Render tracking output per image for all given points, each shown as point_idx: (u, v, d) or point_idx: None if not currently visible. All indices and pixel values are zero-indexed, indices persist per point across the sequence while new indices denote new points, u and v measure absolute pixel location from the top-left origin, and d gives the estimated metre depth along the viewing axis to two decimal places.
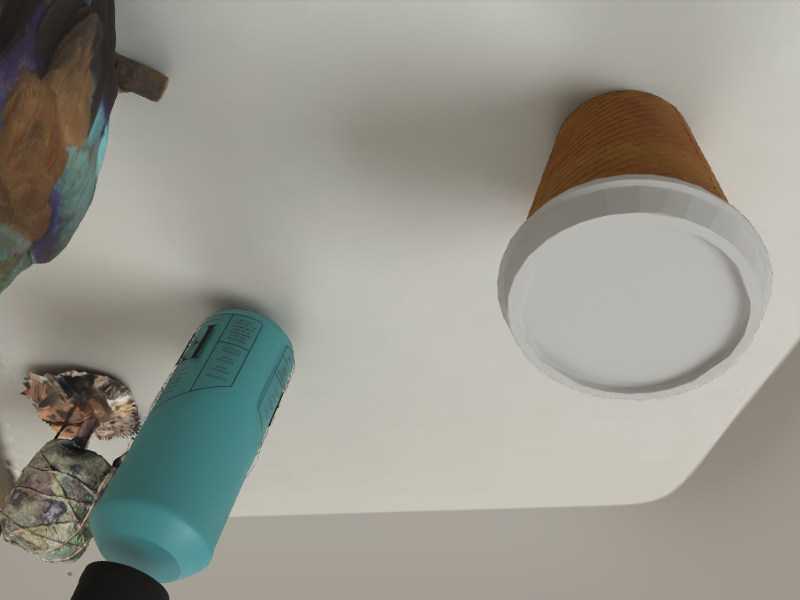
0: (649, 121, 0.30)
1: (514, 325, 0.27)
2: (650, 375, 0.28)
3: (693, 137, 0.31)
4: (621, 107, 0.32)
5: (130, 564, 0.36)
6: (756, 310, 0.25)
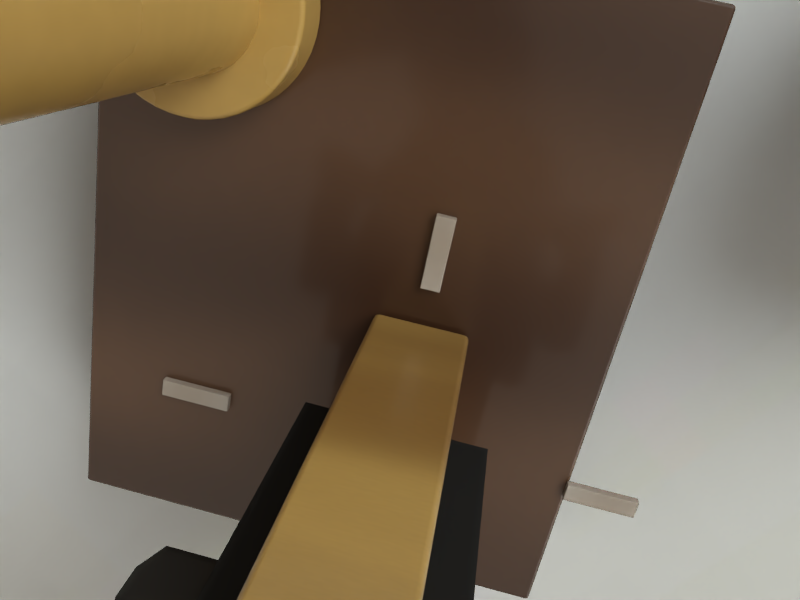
0: None
1: None
2: None
3: None
4: None
5: None
6: None
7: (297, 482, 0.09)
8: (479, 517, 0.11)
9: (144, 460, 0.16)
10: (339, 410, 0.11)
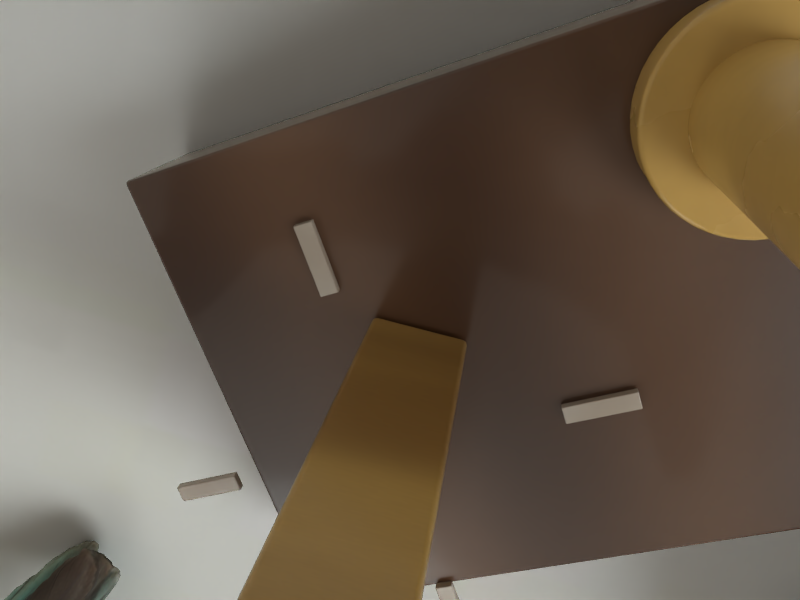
0: None
1: None
2: None
3: None
4: None
5: None
6: None
7: (295, 488, 0.09)
8: None
9: (198, 234, 0.14)
10: (338, 416, 0.10)
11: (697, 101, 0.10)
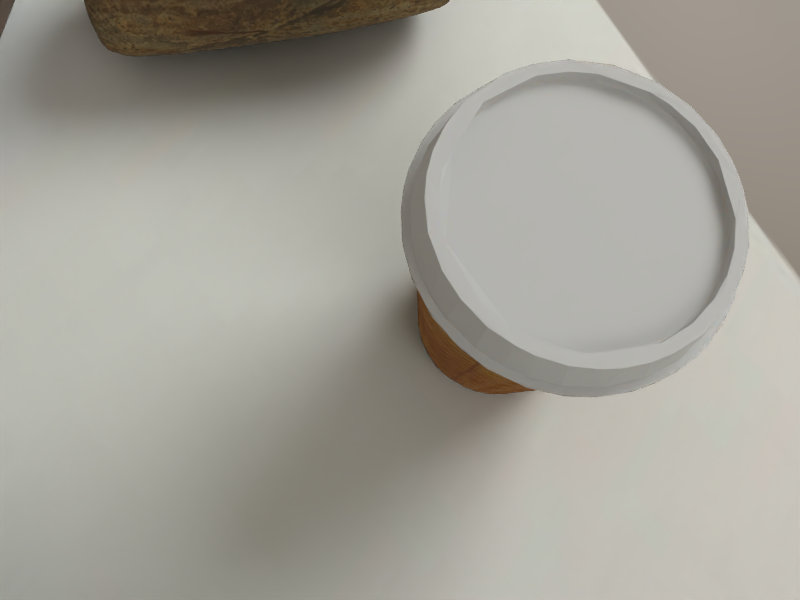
0: None
1: (509, 333, 0.18)
2: (702, 265, 0.19)
3: None
4: None
5: None
6: (667, 95, 0.20)
7: None
8: None
9: None
10: None
11: None
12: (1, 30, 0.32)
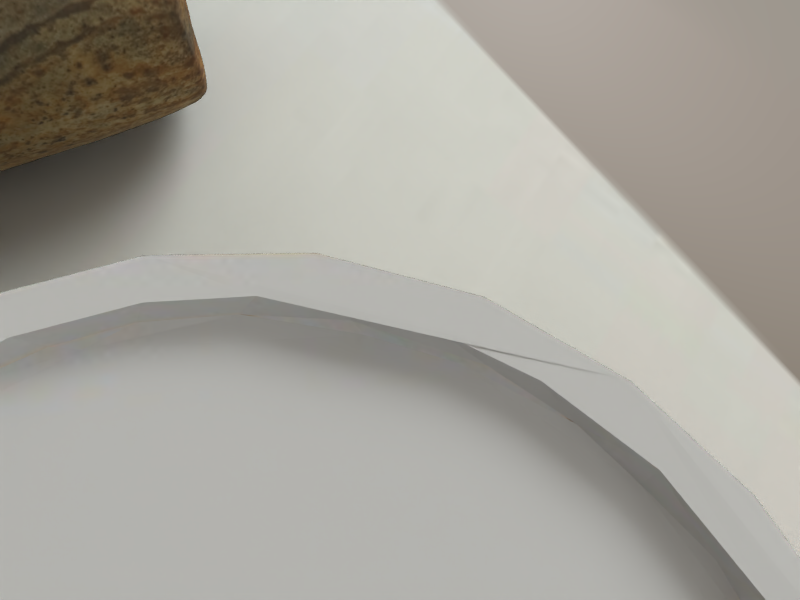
0: None
1: None
2: None
3: None
4: None
5: None
6: (531, 347, 0.05)
7: None
8: None
9: None
10: None
11: None
12: None
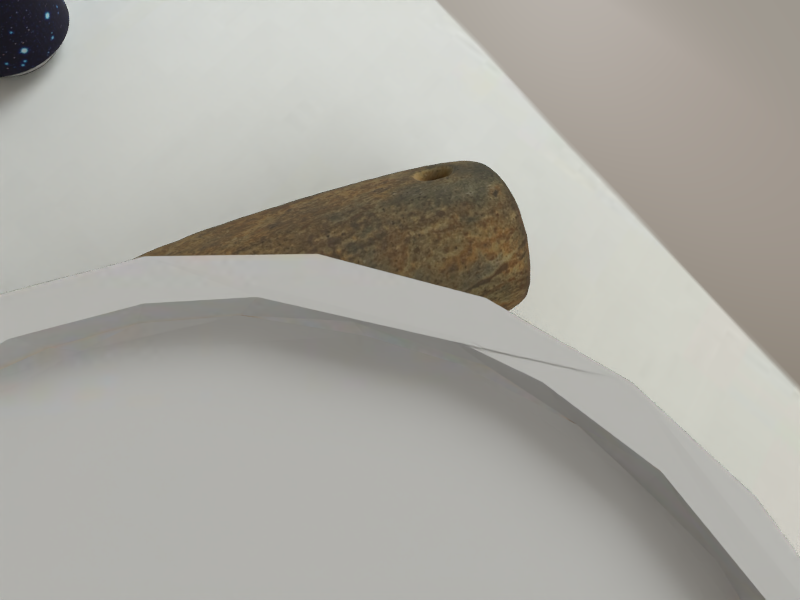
0: None
1: None
2: None
3: None
4: None
5: None
6: (533, 348, 0.05)
7: None
8: None
9: None
10: None
11: None
12: None
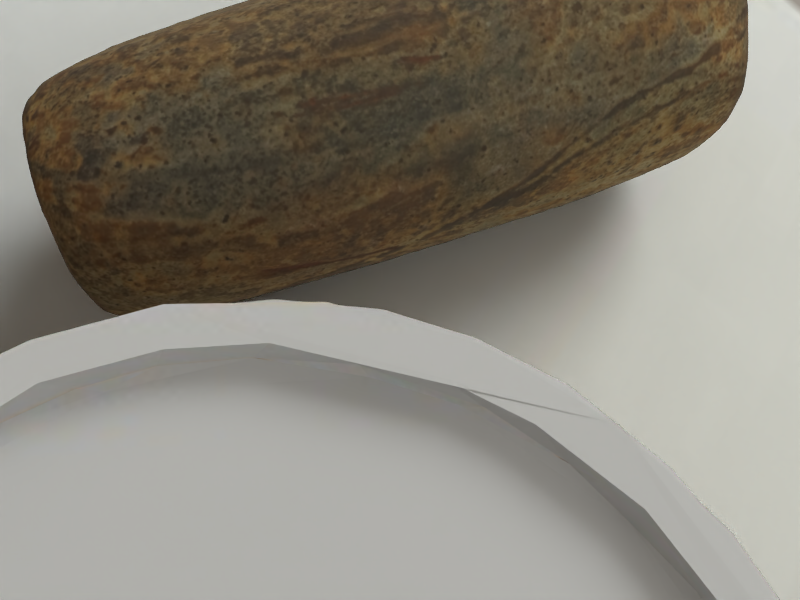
0: None
1: None
2: None
3: None
4: None
5: None
6: (525, 391, 0.06)
7: None
8: None
9: None
10: None
11: None
12: None
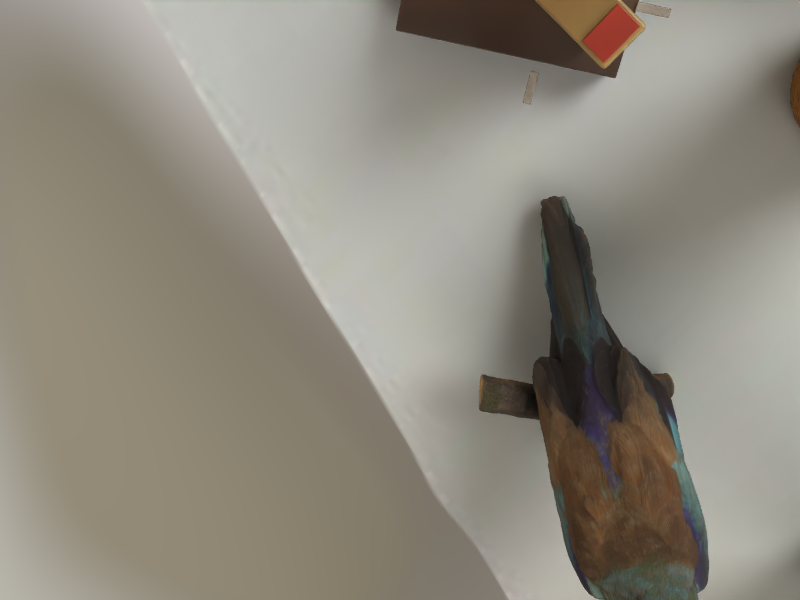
0: None
1: None
2: None
3: None
4: None
5: None
6: None
7: None
8: None
9: (428, 14, 0.33)
10: None
11: None
12: None
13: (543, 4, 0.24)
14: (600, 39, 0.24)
